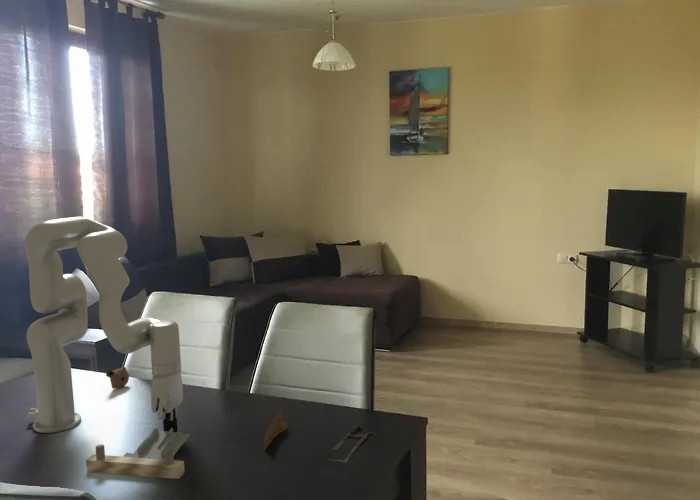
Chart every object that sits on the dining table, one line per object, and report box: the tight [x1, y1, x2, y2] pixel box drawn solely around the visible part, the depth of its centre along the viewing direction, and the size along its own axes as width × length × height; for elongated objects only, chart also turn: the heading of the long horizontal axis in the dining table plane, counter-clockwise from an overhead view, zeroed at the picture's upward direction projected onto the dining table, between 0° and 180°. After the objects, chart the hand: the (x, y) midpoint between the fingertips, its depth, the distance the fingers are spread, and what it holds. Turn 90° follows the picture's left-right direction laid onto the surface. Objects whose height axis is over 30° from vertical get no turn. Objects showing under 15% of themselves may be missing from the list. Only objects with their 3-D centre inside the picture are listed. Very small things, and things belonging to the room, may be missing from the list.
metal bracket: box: [122, 428, 190, 461], centre depth 164 cm, size 14×6×15 cm
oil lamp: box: [105, 366, 130, 390], centre depth 211 cm, size 9×4×8 cm, turn 154°
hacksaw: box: [326, 424, 376, 472], centre depth 166 cm, size 24×10×1 cm, turn 155°
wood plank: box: [263, 411, 289, 451], centre depth 172 cm, size 15×2×5 cm, turn 168°
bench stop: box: [85, 444, 186, 480], centre depth 154 cm, size 24×3×6 cm, turn 80°
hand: (170, 432), depth 172 cm, fingers closed
